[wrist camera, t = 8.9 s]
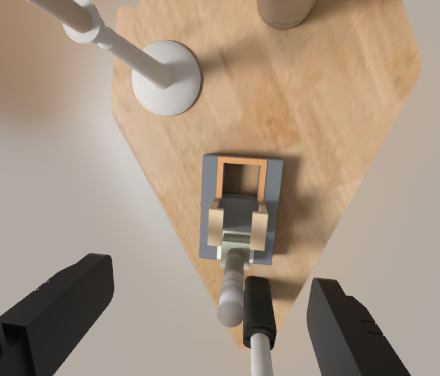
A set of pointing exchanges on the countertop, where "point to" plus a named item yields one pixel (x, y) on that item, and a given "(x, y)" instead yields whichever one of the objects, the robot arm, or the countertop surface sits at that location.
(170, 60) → the candlestick
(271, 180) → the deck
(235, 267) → the post on square base
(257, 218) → the wooden brackets
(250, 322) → the candle
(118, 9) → the countertop surface
